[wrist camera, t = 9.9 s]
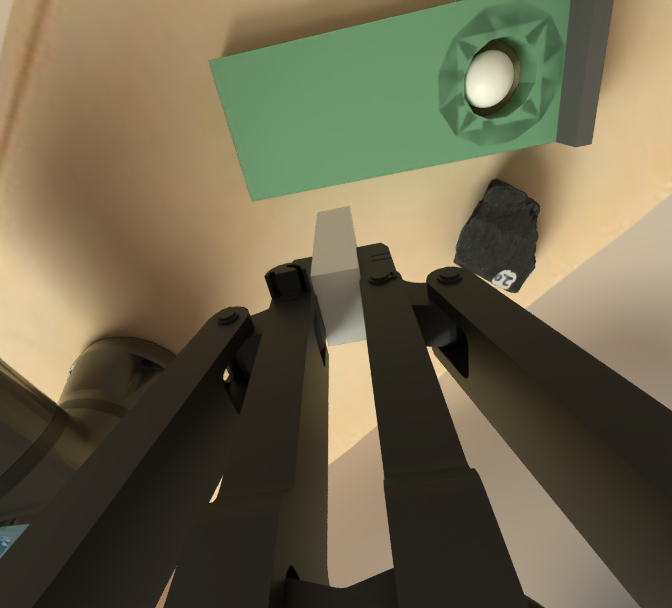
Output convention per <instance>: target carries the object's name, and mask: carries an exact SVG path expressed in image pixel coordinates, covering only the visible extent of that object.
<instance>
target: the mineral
mask: <svg viewBox="0 0 672 608" xmlns="http://www.w3.org/2000/svg"><path fill="white" fill-rule="evenodd" d="M539 212H540V205H539V204H538V203H537V202H535V201H534V200H533V199H531V198H529V197H528V196H527V194H526V193H525V192H523V191H520V190H518V189H516V188H514V187H513V186H511V185H510V184H508V183H506V182H503V181H501V180H498V179H495V180H494V179H493V180H492V181H491V182H490V184H489V186H488V189H487V191H486V193H485V196H484V198H483V199H482V201H479V203H478V205H477V206H476V208H475V210H474V211H473V213H472V215H471V217H470V218H469V220H468V221H467V223H466V224H465V225H464V227H463V228H462V231H461V233H460V235H459V240H458V242H457V245H456V255H455V259H454V263H455V264H457V265H459V266H460V267H462V268H464V269H466V270H469V271H471V272H472V273H474V274H477V275H479V276H481V277H482V278H484V279H485V280H487V281H489V282H491V283H493V284H494V285H496V286H498V287H500V288H502V289H504V290H506V291H509V292H511V293H517V292H518V291H519V290H520V288H521V286H522V284H523V283H524V282H525V280H526V279H527V277H528V276H529V275H530V273H531V272H532V271H533V270H534V269H535V263H536V260H535V256H534V254H535V252H536V241H537V239H538V233H537V231H536V229H537V225H536V223H537V218H538V214H539Z"/></svg>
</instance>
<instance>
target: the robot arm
mask: <svg viewBox="0 0 672 608" xmlns="http://www.w3.org/2000/svg"><path fill="white" fill-rule="evenodd" d="M265 279H266V282H267V285H268V288H269V291H270V294H271V297H272V300H271V304H270V307H269V309H267V310H265V311H263V312H260V313H257V314H254V315H252V316H250V314H249V311H248V309H247V308H245V307H239V306H237V307H228V308H227V309H226V308H225V309H223V310H221V311H220V312H218V313H216V314H215V315H213V316H212V317H211V318H210V319H209V320H208V321H207V322H206V324H205V325H204V326H203V327H202V328H201V329H200V330H199V332H198V333H197V334H196V335H195V336H194V337H193V338H192V340H191V341H190V342H189V343H188V344H187V345H186V346H185V348H184V349H183V350H182V351H181V352H180V353H179V354H178V356H177V357H176V356H175V355H173V354H172V353H171V352H169V351H167V350H166V349H164V348H162V347H160V346H158V345H156V344H153V343H151V342H148V341H145V340H141V339H136V338H129V337H113V338H107V339H103V340H100V341H97V342H95V343H93V344H92V345H90V346H89V347H88V348H87V349H86V350H85V351H84V352H83V353H82V354H81V355H80V356H79V357H78V358H77V359H76V360H75V362H74V363H73V365H72V366H71V368H70V371H69V374H68V378H67V383H66V385H65V387H64V390H63V392H62V395H61V397H60V400H59V402H58V404H56V403H55V402H54V401H53V400H51V399H50V398H49V397H48V396H46V395H45V394H44V393H43V392H41V391H40V390H39V389H38V388H36V387H35V386H34V385H33V384H31V383H30V382H29V381H28V380H27V379H25V378H24V377H23V376H22V375H20V374H19V373H18V372H17V371H15V370H14V369H13V368H12V367H10V366H9V365H8V364H7V363H5V362H4V361H3V360H2V359H1V358H0V608H155V607H156V605H157V603H158V601H159V599H160V597H161V595H162V593H163V591H164V589H165V587H166V585H167V583H168V581H169V579H170V577H171V576H172V574H173V571H174V570H175V568H176V570H175V573H174V576H173V579H172V582H171V586H170V589H169V592H168V595H167V598H166V601H165V604H164V607H163V608H544V607H543V606H542V605H540V604H539V603H537V602H536V601H534V600H532V599H531V598H529V597H528V596H526V595H524V593H523V590H522V587H521V584H520V582H519V579H518V576H517V574H516V571H515V568H514V566H513V563H512V560H511V558H510V555H509V553H508V550H507V547H506V544H505V542H504V539H503V536H502V534H501V531H500V528H499V526H498V523H497V520H496V517H495V515H494V512H493V510H492V507H491V504H490V501H489V499H488V496H487V493H486V491H485V488H484V486H483V483H482V481H481V479H480V476H479V474H478V473H477V471H476V470H475V469H474V468H472V469H470V467H469V465H468V463H467V461H466V458H465V455H464V452H463V450H462V447H461V444H460V441H459V438H458V435H457V433H456V430H455V427H454V424H453V421H452V419H451V416H450V413H449V410H448V407H447V404H446V402H445V399H444V396H443V393H442V390H441V388H440V384H439V382H438V379H437V376H436V373H435V370H434V367H433V365H432V362H431V359H430V356H429V353H428V350H427V348H426V346H429V347H432V350H433V352H434V355H435V356H436V357H437V358H438V359H439V361H440V362H441V363H442V364H443V366H444V367H445V368H446V369H447V370H448V372H449V373H450V374H451V375H452V377H453V378H454V379H455V380H456V381H457V383H458V384H459V385H460V386H461V388H462V389H463V390H464V391H465V392H466V394H467V395H468V396H469V397H470V399H471V400H472V401H473V402H474V403H475V405H476V406H477V407H478V408H479V410H480V411H481V412H482V413H483V414H484V416H485V417H486V418H487V420H488V421H489V422H490V423H491V425H492V426H493V427H494V428H495V429H496V431H497V432H498V433H499V434H500V436H501V437H502V438H503V439H504V440H505V441H506V443H507V444H508V445H509V447H510V448H511V449H512V450H513V451H514V453H515V454H516V455H517V456H518V457H519V459H520V460H521V461H522V463H523V464H524V465H525V466H526V467H527V469H528V470H529V471H530V472H531V473H532V475H533V476H534V477H535V479H536V480H537V481H538V482H539V483H540V485H541V486H542V487H543V488H544V490H545V491H546V492H547V493H548V494H549V496H550V497H551V498H552V499H553V500H554V502H555V503H556V504H557V505H558V507H559V508H560V509H561V510H562V511H563V513H564V514H565V515H566V517H567V518H568V519H569V520H570V522H571V523H572V524H573V525H574V526H575V528H576V529H577V530H578V531H579V533H580V534H581V535H582V536H583V537H584V539H585V540H586V541H587V542H588V544H589V545H590V546H591V547H592V549H593V550H594V551H595V552H596V553H597V555H598V556H599V557H600V558H601V560H602V561H603V562H604V563H605V564H606V566H607V567H608V568H609V569H610V571H611V572H612V573H613V574H614V575H615V577H616V578H617V579H618V580H619V582H620V583H621V584H622V585H623V587H624V588H625V589H626V590H627V592H628V593H629V594H630V595H631V596H632V598H633V599H634V600H635V601H636V602H637V603H638V605H639V606H640V607H641V608H672V411H671V410H670V409H668V408H667V407H665V406H664V405H663V404H661V403H660V402H658V401H657V400H655V399H654V398H652V397H651V396H650V395H648V394H647V393H645V392H644V391H642V390H641V389H639V388H638V387H637V386H635V385H634V384H632V383H631V382H629V381H628V380H627V379H625V378H624V377H622V376H621V375H619V374H618V373H616V372H615V371H614V370H612V369H611V368H609V367H608V366H606V365H605V364H603V363H602V362H601V361H599V360H598V359H596V358H595V357H593V356H592V355H590V354H589V353H588V352H586V351H585V350H583V349H582V348H580V347H579V346H577V345H576V344H575V343H573V342H572V341H570V340H569V339H567V338H566V337H564V336H563V335H562V334H560V333H559V332H557V331H556V330H554V329H553V328H551V327H550V326H549V325H547V324H546V323H544V322H543V321H541V320H540V319H538V318H537V317H536V316H534V315H532V314H531V313H530V312H528V311H527V310H526V309H524V308H523V307H521V306H520V305H518V304H517V303H515V302H514V301H513V300H511V299H510V298H508V297H507V296H505V295H504V294H502V293H501V292H500V291H498V290H497V289H495V288H494V287H492V286H491V285H489V284H488V283H487V282H485V281H484V280H482V279H481V278H479V277H478V276H476V275H475V274H474V273H472V272H471V271H469V270H466V269H464V268H459V267H444V268H441V269H437V270H435V271H433V272H431V273H430V274H429V275H428V276H427V279H426V282H427V283H413V282H407V281H405V280H403V279H402V277H401V275H400V273H399V272H397V271H396V269H395V266H394V263H393V260H392V257H391V254H390V251H389V248H388V246H386V245H384V244H382V243H377V244H372V245H366V246H361V247H357V244H356V239H355V233H354V227H353V222H352V216H351V211H350V206H348V207H343V208H338V209H333V210H328V211H323V212H318V213H317V222H316V231H315V239H314V248H313V257H308V258H303V259H297V260H294V261H293V262H292V263H287V264H283V265H279V266H277V267H275V268H273V269H271V270H270V271H268V272H267V273H266V275H265ZM326 338H327V342H328V346H333V345H339V344H345V343H351V342H357V341H364V340H367V346H368V354H369V362H370V369H371V377H372V385H373V393H374V400H375V408H376V416H377V423H378V431H379V439H380V446H381V454H382V462H383V470H384V492H385V500H386V509H387V517H388V524H389V533H390V540H391V549H392V557H393V565H394V568H392V569H390V570H387V571H385V572H383V573H380V574H378V575H376V576H373V577H371V578H368V579H367V580H364V581H361V582H359V583H357V584H355V585H352V586H350V587H347V588H335V587H330V585H329V579H328V570H327V513H328V509H327V507H328V388H329V354H328V350H327V347H326ZM225 369H227V371H228V373H229V376H228V378H227V379H226V380H225V381H224V380H223V375H224V372H225ZM223 474H224V475H223ZM222 476H223V478H222ZM221 478H222V482H221V486H220V489H219V493H218V495H217V498H216V499H215V500H214V501H213V502H212V503H209V502H210V500H211V498H212V496H213V494H214V492H215V490H216V488H217V486H218V484H219V482H220V480H221ZM176 566H177V567H176Z"/></svg>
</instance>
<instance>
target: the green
mask: <svg viewBox="0 0 672 608" xmlns="http://www.w3.org/2000/svg"><path fill="white" fill-rule="evenodd" d="M612 6H613V0H461V1H457V2H453V3H449V4H444V5H440V6H436V7H432V8H428V9H423V10H419V11H415V12H411V13H407V14H402V15H398V16H394V17H390V18H386V19H381V20H377V21H373V22H369V23H365V24H360V25H356V26H352V27H348V28H344V29H340V30H335V31H331V32H327V33H323V34H319V35H314V36H310V37H306V38H302V39H298V40H293V41H289V42H285V43H281V44H277V45H272V46H268V47H264V48H260V49H256V50H251V51H247V52H243V53H239V54H235V55H230V56H226V57H222V58H218V59H214V60H209V64H210V68H211V71H212V74H213V77H214V81H215V84H216V87H217V90H218V94H219V97H220V100H221V103H222V106H223V110H224V113H225V116H226V119H227V123H228V126H229V129H230V132H231V136H232V139H233V142H234V145H235V148H236V152H237V155H238V158H239V161H240V165H241V168H242V171H243V174H244V178H245V181H246V184H247V187H248V190H249V194H250V197H251V200H252V201H257V200H262V199H267V198H272V197H277V196H282V195H287V194H292V193H298V192H303V191H308V190H313V189H318V188H323V187H328V186H333V185H338V184H343V183H349V182H354V181H359V180H364V179H369V178H374V177H379V176H384V175H389V174H394V173H399V172H405V171H410V170H415V169H420V168H425V167H430V166H435V165H440V164H445V163H450V162H456V161H461V160H466V159H471V158H476V157H481V156H486V155H491V154H496V153H501V152H506V151H512V150H517V149H522V148H527V147H532V146H537V145H542V144H547V143H552V142H558V143H562V144H565V145H569V146H573V147H579V146H584V145H590V144H592V138H593V132H594V125H595V118H596V112H597V105H598V99H599V92H600V85H601V79H602V72H603V66H604V59H605V52H606V46H607V39H608V33H609V26H610V19H611V13H612ZM494 39H498V40H500V41H502V42H504V43H506V44H508V45H511V46H512V47H513V49H514V51H515V53H516V55H517V57H518V59H519V61H520V80H519V84H518V86H517V88H516V90H515V92H514V94H513V96H512V98H511V100H510V101H509V102H508V103H507V104H506V105H504V106H503V107H502V108H501V109H500V110H498V111H497V112H496V113H495V114H490V115H485V116H479V115H476V114H474V113H473V111H472V110H471V108H470V106H469V105H468V103H467V101H466V100H465V98H464V76H465V74H466V71H467V69H468V67H469V65H470V62H471V60H472V58H473V56H474V55H475V54H476V53H477V52H478V51H479V50H480V49H481V48H482V47H483V46H485V45H486V44H487V43H488V42H489V41H490V40H494Z"/></svg>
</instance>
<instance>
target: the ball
mask: <svg viewBox="0 0 672 608" xmlns="http://www.w3.org/2000/svg"><path fill="white" fill-rule="evenodd" d="M513 80H514V67H513V64H512V61H511V60H510V58H509V57H508V56H507V55H506V54H505V53H503V52H501V51H498V50H487V51H484V52H481V53H479V54H478V55H476V56H475V57H474V58H473V59H472V60H471V62H470V65H469V67H468V69H467V71H466V74H465V76H464V98H465V100H466V101H467V102H468V103H469V104H470V105H472V106H474V107H478V108H487V107H490V106H493V105H495V104H497V103H498V102H500V101H501V100H502V99H503V98H504V97H505V96H506V95H507V94H508V92H509V90H510V88H511V86H512V84H513Z"/></svg>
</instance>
